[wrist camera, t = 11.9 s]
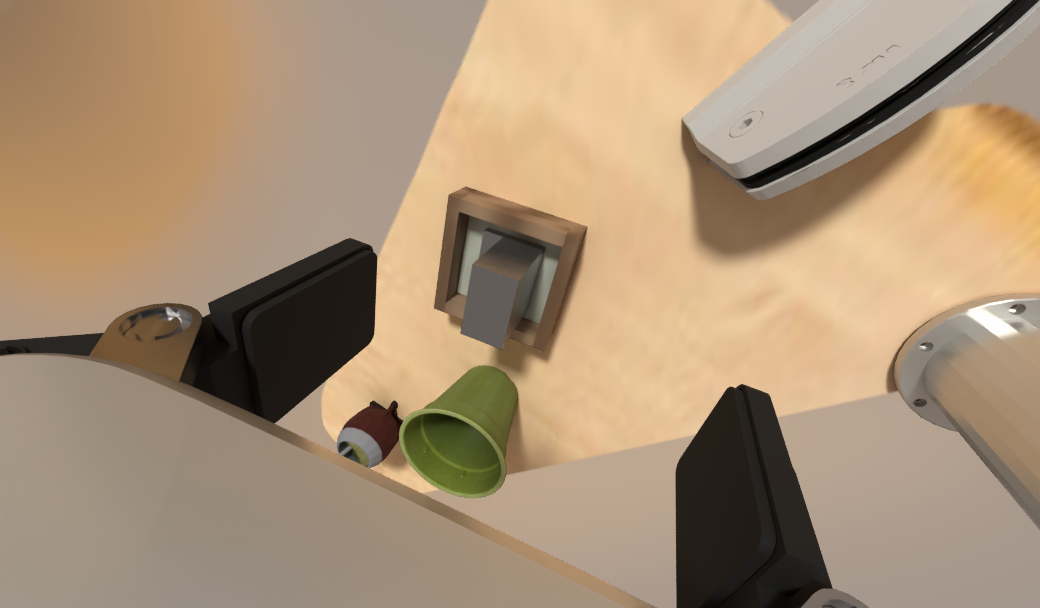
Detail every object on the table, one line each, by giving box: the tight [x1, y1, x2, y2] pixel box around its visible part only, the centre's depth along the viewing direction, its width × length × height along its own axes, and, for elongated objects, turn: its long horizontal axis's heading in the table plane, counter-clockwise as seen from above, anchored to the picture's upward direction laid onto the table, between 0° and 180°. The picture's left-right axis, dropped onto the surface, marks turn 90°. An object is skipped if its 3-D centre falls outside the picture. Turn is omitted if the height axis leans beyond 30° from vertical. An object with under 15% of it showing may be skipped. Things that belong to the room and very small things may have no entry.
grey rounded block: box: [682, 0, 1040, 201], centre depth 24 cm, size 17×5×10 cm, turn 134°
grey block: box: [461, 228, 546, 350], centre depth 37 cm, size 6×7×8 cm
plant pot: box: [399, 366, 518, 498], centre depth 46 cm, size 12×12×11 cm
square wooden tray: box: [434, 187, 587, 351], centre depth 40 cm, size 12×12×4 cm
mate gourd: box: [337, 401, 403, 468], centre depth 53 cm, size 8×8×15 cm
